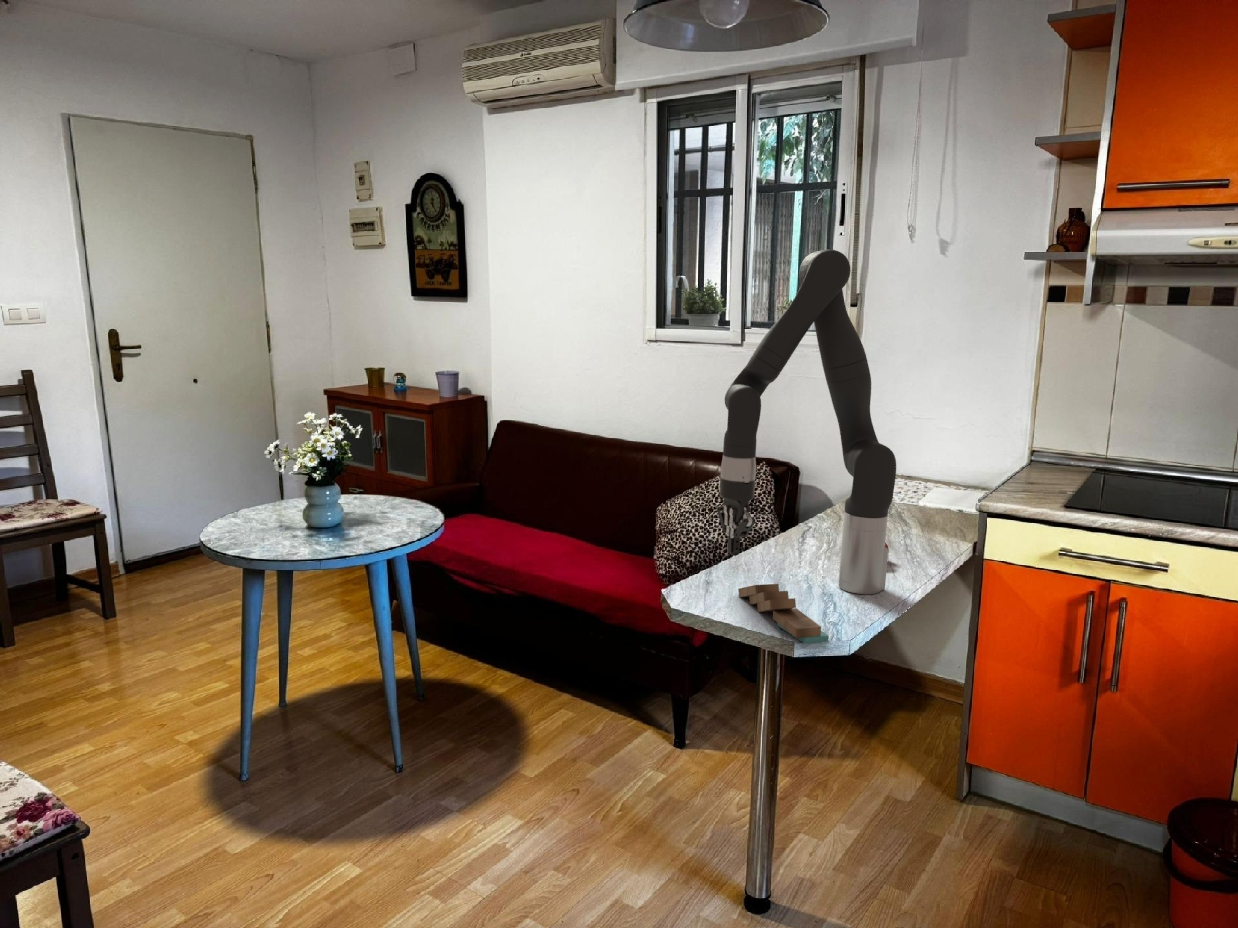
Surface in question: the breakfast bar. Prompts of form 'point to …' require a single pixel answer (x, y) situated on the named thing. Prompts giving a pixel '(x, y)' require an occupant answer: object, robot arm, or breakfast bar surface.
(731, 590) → the breakfast bar surface
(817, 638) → the teal domino
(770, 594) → the domino
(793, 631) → the domino
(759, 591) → the domino
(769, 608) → the domino
